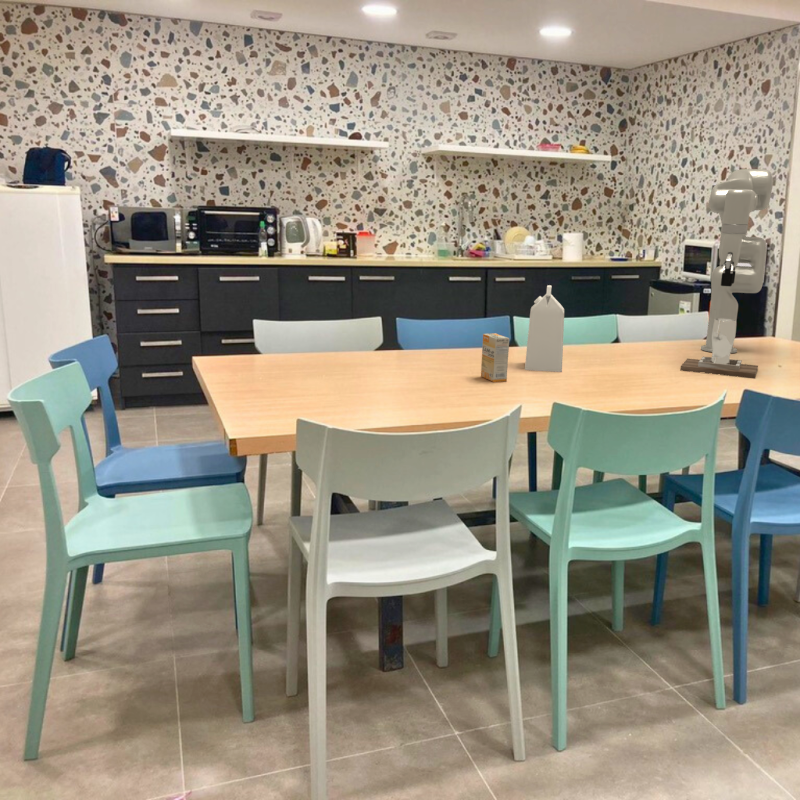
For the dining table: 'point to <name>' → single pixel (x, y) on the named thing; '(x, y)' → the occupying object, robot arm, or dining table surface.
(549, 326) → the milk
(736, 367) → the walnut board
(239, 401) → the dining table surface
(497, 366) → the supplement box
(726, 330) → the beer glass
